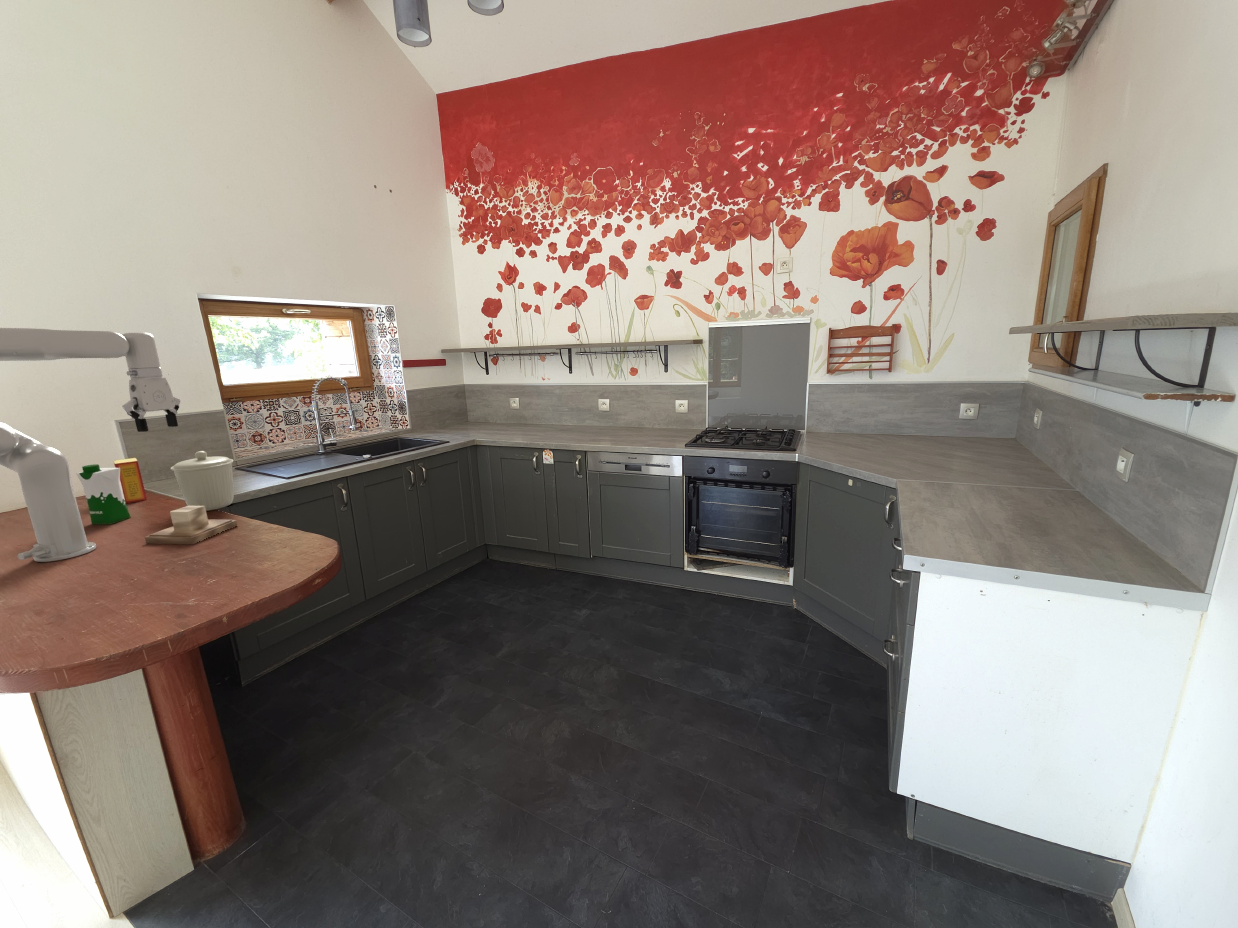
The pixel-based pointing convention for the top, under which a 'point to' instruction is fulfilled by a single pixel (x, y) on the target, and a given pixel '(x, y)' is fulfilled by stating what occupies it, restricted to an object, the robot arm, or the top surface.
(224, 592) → the top surface
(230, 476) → the canister
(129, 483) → the baking soda box
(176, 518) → the cube
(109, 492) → the milk carton
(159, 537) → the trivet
